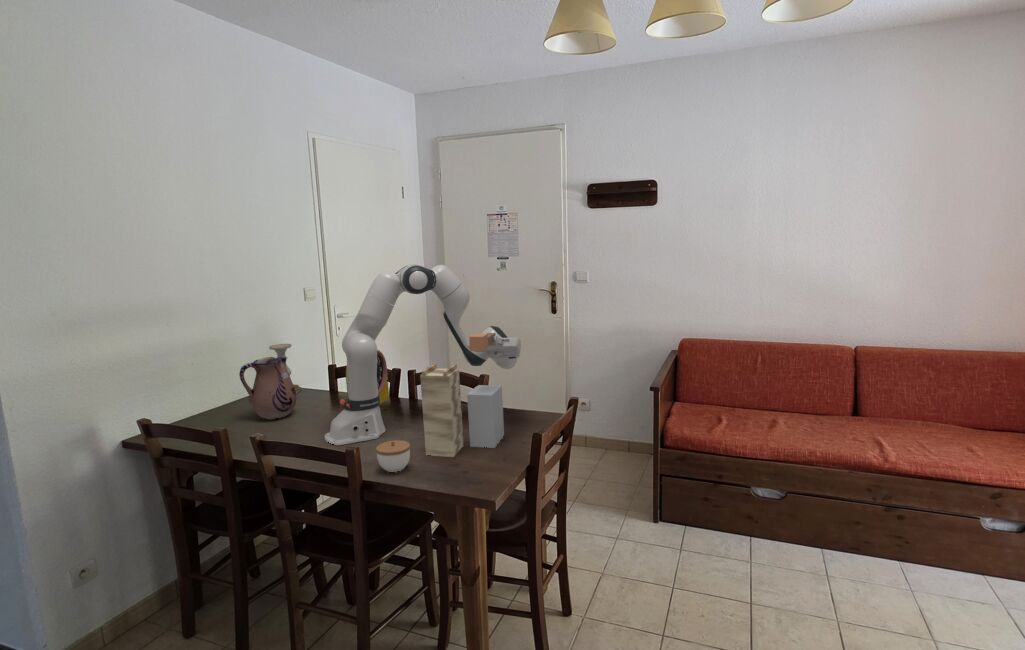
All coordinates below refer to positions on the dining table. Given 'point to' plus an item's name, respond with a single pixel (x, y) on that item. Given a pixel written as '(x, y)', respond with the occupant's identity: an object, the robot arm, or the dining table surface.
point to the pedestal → (485, 416)
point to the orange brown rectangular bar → (480, 341)
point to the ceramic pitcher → (270, 388)
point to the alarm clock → (380, 377)
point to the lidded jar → (393, 455)
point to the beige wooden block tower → (442, 411)
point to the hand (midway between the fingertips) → (488, 337)
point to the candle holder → (280, 351)
